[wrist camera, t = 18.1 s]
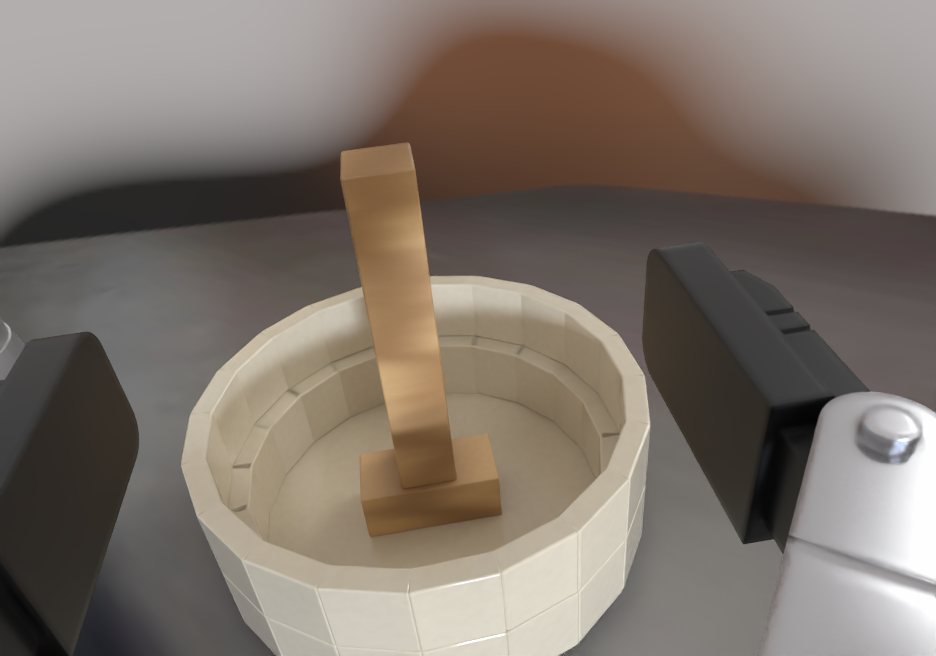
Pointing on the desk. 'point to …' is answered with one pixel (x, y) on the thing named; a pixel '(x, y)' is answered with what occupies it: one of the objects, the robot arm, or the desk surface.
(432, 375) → the wooden t-shaped block
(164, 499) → the desk surface
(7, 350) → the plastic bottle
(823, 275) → the desk surface
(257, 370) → the bowl
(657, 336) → the robot arm
